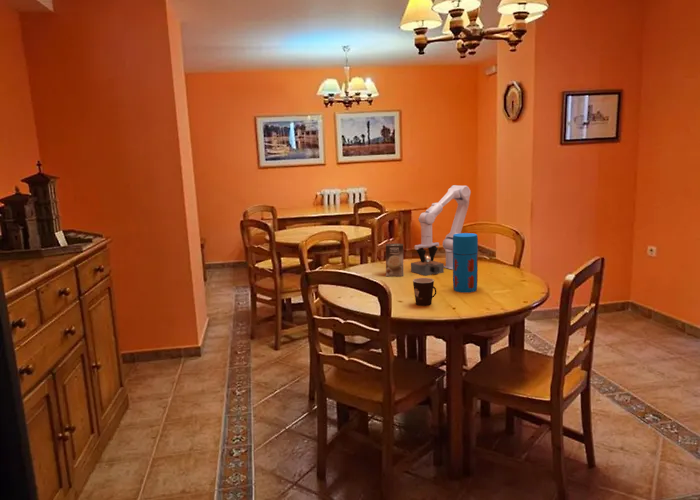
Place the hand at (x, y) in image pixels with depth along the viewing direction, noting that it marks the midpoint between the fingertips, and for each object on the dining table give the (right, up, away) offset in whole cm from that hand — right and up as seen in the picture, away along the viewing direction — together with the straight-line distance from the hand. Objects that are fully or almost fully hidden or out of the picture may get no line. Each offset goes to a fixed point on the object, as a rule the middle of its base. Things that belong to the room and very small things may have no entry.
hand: (427, 261), depth 268 cm
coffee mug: (-9, -17, -56) cm, 59 cm away
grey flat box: (0, -6, +1) cm, 6 cm away
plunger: (0, -6, +1) cm, 6 cm away
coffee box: (-17, -7, -3) cm, 19 cm away
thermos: (+12, -12, -35) cm, 39 cm away
